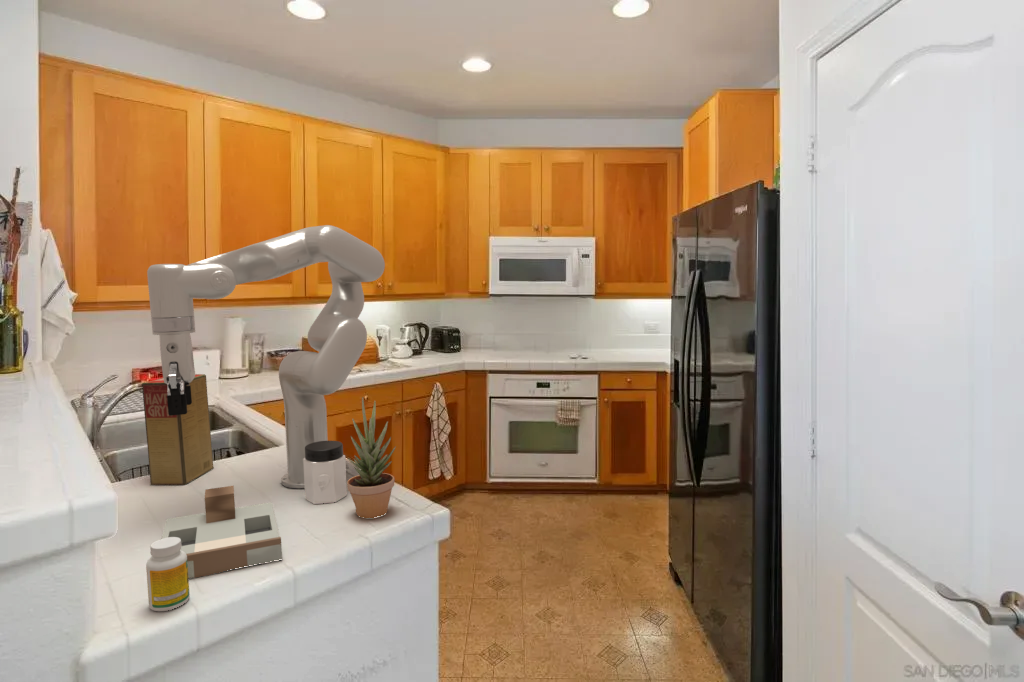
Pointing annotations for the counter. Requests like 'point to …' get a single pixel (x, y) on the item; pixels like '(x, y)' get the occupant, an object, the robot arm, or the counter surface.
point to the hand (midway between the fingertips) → (180, 409)
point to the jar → (324, 472)
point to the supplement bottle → (167, 575)
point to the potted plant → (370, 472)
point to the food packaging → (177, 434)
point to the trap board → (227, 539)
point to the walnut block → (219, 504)
